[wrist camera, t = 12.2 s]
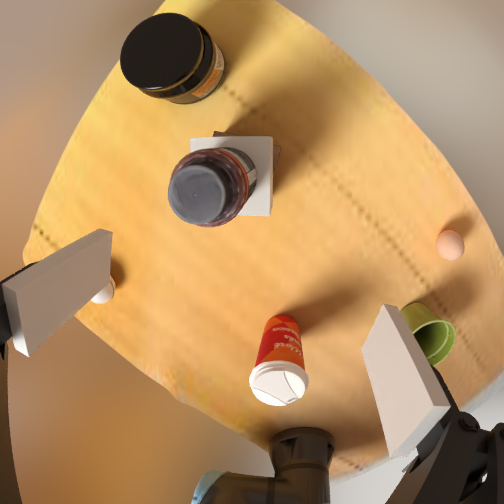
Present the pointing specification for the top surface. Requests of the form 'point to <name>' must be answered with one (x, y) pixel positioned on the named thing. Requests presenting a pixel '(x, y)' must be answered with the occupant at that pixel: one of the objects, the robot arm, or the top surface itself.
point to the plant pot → (430, 332)
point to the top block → (262, 159)
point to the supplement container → (172, 59)
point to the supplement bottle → (211, 185)
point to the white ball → (105, 293)
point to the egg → (450, 245)
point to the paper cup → (279, 363)
